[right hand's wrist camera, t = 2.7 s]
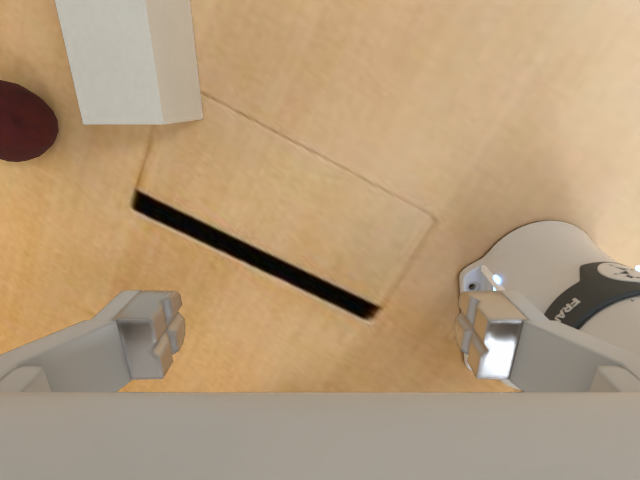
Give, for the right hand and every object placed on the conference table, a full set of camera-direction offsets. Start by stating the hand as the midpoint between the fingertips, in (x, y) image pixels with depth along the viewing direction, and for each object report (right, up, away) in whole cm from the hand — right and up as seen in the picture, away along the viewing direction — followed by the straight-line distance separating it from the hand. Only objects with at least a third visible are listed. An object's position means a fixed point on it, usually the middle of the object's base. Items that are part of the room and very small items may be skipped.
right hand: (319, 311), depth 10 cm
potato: (-30, +15, +26) cm, 42 cm away
